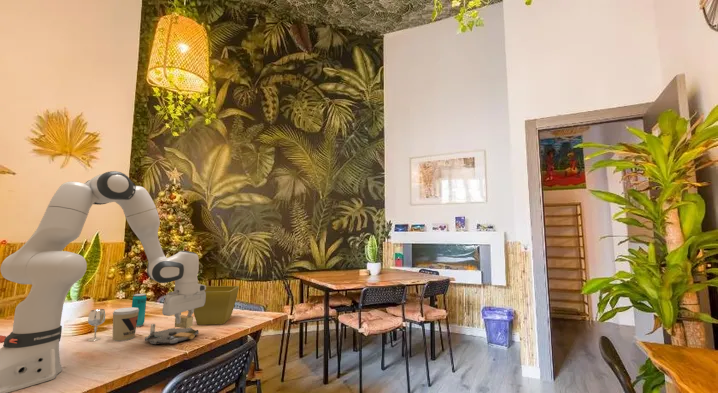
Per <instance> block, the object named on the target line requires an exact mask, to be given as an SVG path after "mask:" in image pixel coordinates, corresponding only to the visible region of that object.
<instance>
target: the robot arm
mask: <svg viewBox="0 0 718 393" xmlns="http://www.w3.org/2000/svg"><path fill="white" fill-rule="evenodd" d="M110 203H116V204H118V205H119V207H120V208H121V209H122V211H123V215H124V217H125V220H126V221H127V223H128V225H129V227H130V228H131V229H130V230H132V232H133V233H134V234H135V235H136V237H137V238H138V240H139V242H141V246H142V248H143V251H144V254H145V256H146V259H147V266H146V273H147V276H148V277H149V278H150V279H151V280H153V281H154V282H157V283H160V284H167V283H170V282H174V291H169V292H168V293H167V294H166V295H165V296H164V300H163V305H162V310H161V311H162V312H161V313H162V316H166V317H167V316H168V317H170V316H174V319H175V318H176V323H177V324H180V323H182V320H183V319H182V318H181V317H180V316H181V315H182V313H184V312H188V313H187V315H186V316H193V315H194V309H195V308H199V307H202V306H204V304H205V299H206V293H205V291H204V290H206V286H207V285H205V284H201V283H199V280H198V274H199V270H200V269H199V268H200V266H199V265H200V264H199V263H200V261H199V255H198V254H197V253H196V252H193V251H189V250H188V251H187V250H180V251H178V252H177V253H175V254H173V255H171V256H169V257H167V256H166V255H165V253H164V250H163V248H162V245H161V243H160V240H159V236H158V235H159V233H158V232H159V229H160V225H161V222H160V221H161V220H160V217H159V216H160V214H159V212H158V209H157V207H156V204H155V202H154V200H153V198H152V197H151V195H150V193H149V192H148V190H147V189H146V188H145V187H143V186H141V185H136V184H135V183H134V182H133V181H132V180H131V179H130V177H129V176H128V175H127V174H125V173H123V172H121V171H117V170H114V171H107V172H103V173H102V174H98V175H96V176H94V177H92V178H91V179H89V180H87V181H85V182H84V183H83V182H79V181H67V182H64V183H62V184H61V185H60V186H59V187H58V189H56V192H54V194H53V196H52V197H51V199H50V201H49V203H48V204H47V206H46V209H45V212H44V214H43V216H42V218H41V220H40V221H39V222H40V223H39V224H38V226H37V228H36V229H35V231H34V232H33V234H32V235H31V237H30V238H29V239H27V241H25V243H24V244H23V245H22V246H21V247H20V248H19V249H18V250H16V251H15V252H13V253H11V254H9V255H8V256H7V257H6V258H5V259H4V260H3V261H2V263H1V264H0V273H1V276H2V277H3V279H5V280H7V281H10V282H12V283H16V284H20V285H31V288H30V291H29V293H28V294H27V296H26V297H25V299H23V300H22V301H20V302H19V303H18V304H17V305H16V307H15V311H14V317H13V324H12V330H11V332H10V333H9V334H8V335H7V336H5V335H0V344H2V347H0V393H11V392H15V391H18V390H21V389H25V388H29V387H31V386H35V385H39V384H42V383H45V382H49V381H51V380H54V379H56V377H57V375H58V374H60V373H61V372H62V370H63V368H62V364H61V357H60V341H61V337H62V332H63V331H62V330H63V326H62V325H61V323H62V317H63V316H62V315H63V310H64V305H65V300H66V298H67V295H68V294H69V291H70V290H71V289H72V287H73V286H74V285H75V284H76V283H77V282H78V281H80V280H81V279H82V278H83V277H84V276H85V274H86V271H87V268H88V266H87V261H86V260H87V259H86V258H85V257H84V256H83V255H81V254H78V253H75V252H71V251H67V250H65V248H66V247H67V246H68V245H69V244H71V243H72V242H74V241H76V240H77V239H78V238H79V237H80V235H81V233H82V231H83V228H84V225H85V224H86V220H87V217H88V215H89V213H90V209H91V208H92V206H93V205H98V206H99V205H106V204H110Z"/></svg>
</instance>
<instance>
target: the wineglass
mask: <svg viewBox="0 0 718 393" xmlns="http://www.w3.org/2000/svg"><path fill="white" fill-rule="evenodd" d="M105 321H106V311H105V309H104V308H95V309H92V310H90V311H89V314H88V317H87V323H88V325H91V326H93V327H94V328H93V330H94V335H93V337H92V338H89V339H87V341H88V342H96V341H100V340H101V339H102V337H97V330H98V326H100V325H102V324H103V323H105Z"/></svg>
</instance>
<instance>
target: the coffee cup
mask: <svg viewBox="0 0 718 393" xmlns="http://www.w3.org/2000/svg"><path fill="white" fill-rule="evenodd" d="M138 312H139V309H138V308H135V307H132V306H131V307H123V308H121V307H120V308H118V309H115V310H113V312H112V315H113V316H112V341H114V342H123V341H124V342H125V341H128V340H132V339H134V338H135V335H136V331H137V327H136V325H137V319H138Z"/></svg>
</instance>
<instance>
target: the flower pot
mask: <svg viewBox="0 0 718 393" xmlns="http://www.w3.org/2000/svg"><path fill="white" fill-rule="evenodd" d="M205 286H206V290H204V291H205V293H206V299H205V304H204V306H202V307H199V308H195V309H194V312H193V315H194V316H193V317H194V318H195V322H196V324H197V326H198V325H200V326H201V325H204V326H205V325H207V326H208V325H223V324H225V323H227V321H229V320H230V318H231V316H232V314H233V311H234V308H235V305H236V302H237V298H238V294H239V290H240V289H239V288H240V287H239V285H205Z"/></svg>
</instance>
